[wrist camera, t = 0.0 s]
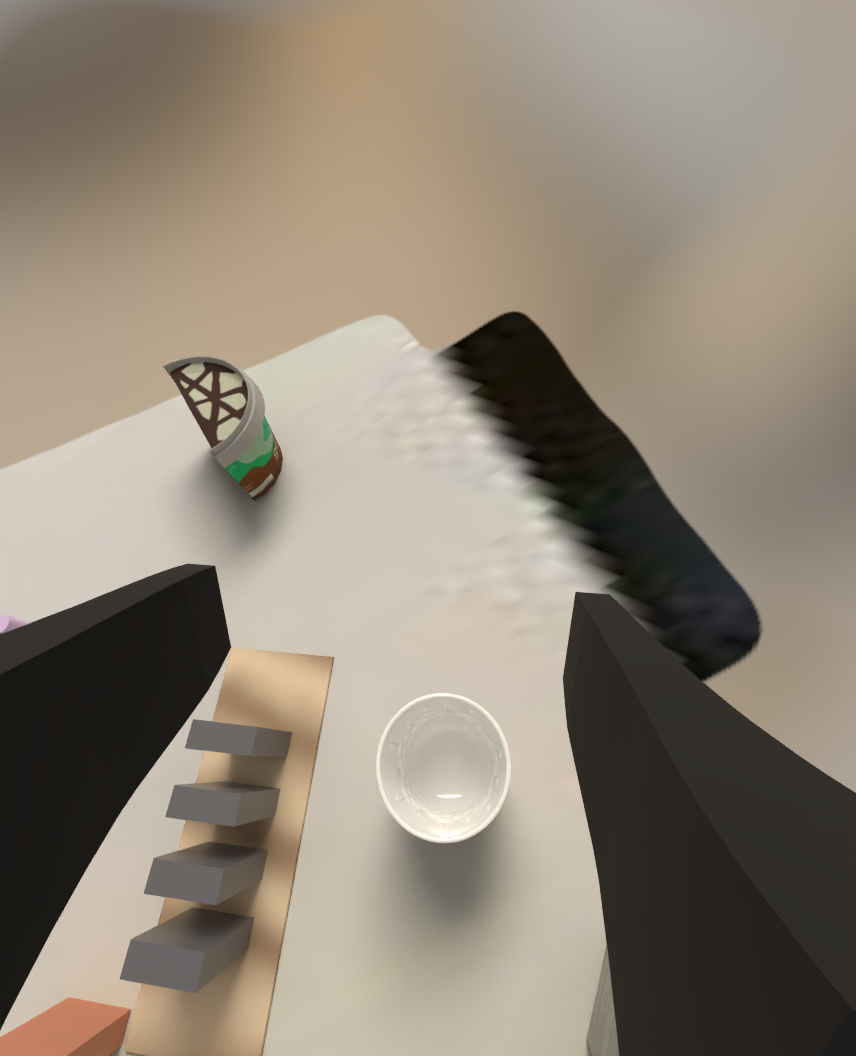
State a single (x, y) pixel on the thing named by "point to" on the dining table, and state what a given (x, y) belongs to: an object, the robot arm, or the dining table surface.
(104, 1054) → the rust domino
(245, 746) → the domino
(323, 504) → the dining table surface
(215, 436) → the food container
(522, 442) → the dining table surface
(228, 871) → the domino
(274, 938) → the cork strip
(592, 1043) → the skincare box
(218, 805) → the domino
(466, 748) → the white cup
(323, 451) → the dining table surface
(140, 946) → the domino
